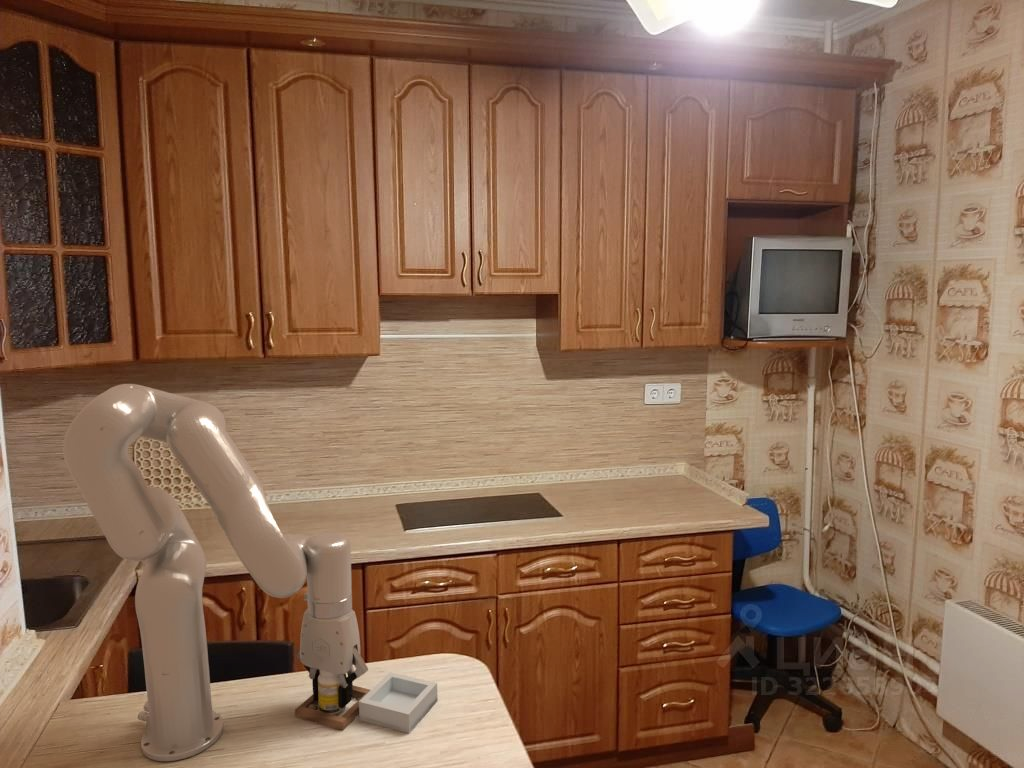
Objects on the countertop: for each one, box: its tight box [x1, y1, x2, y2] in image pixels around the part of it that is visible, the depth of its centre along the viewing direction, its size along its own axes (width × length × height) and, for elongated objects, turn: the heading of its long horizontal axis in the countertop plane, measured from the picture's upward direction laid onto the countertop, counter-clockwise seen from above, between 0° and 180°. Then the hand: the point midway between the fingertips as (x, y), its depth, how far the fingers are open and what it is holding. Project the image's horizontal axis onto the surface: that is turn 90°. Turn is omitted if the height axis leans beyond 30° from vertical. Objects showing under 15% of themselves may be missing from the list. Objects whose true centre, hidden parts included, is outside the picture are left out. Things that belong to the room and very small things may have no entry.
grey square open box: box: [358, 671, 439, 734], centre depth 126 cm, size 10×10×4 cm
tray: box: [294, 684, 371, 731], centre depth 127 cm, size 10×10×2 cm
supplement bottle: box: [318, 670, 347, 715], centre depth 126 cm, size 5×5×8 cm
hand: (332, 699), depth 127 cm, fingers closed on supplement bottle, 4 cm apart
